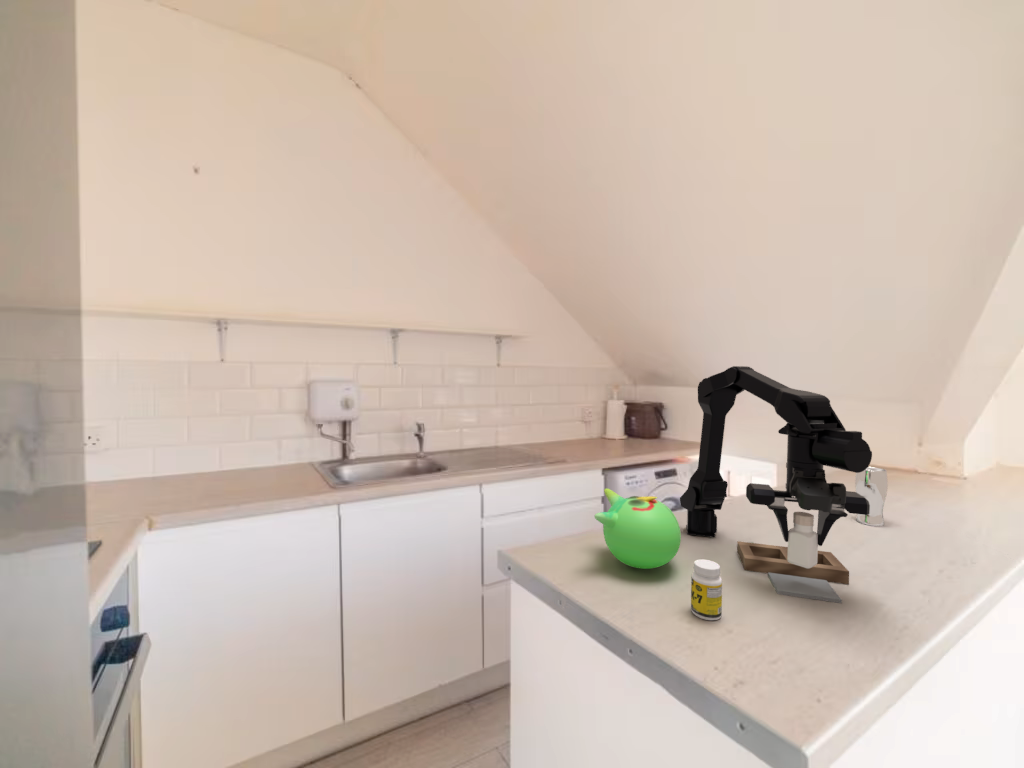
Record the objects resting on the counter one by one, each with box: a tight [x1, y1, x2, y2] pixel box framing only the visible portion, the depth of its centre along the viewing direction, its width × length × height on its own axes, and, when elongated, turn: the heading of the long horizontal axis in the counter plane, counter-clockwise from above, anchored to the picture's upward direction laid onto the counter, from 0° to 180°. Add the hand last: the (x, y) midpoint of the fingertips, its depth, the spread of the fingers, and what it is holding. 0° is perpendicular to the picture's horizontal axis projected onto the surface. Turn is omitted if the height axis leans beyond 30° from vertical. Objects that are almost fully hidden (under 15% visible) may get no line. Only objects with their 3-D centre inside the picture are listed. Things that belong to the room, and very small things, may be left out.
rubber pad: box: [767, 572, 843, 604], centre depth 84 cm, size 10×8×1 cm
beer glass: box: [854, 466, 889, 527], centre depth 122 cm, size 7×7×15 cm
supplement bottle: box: [690, 558, 723, 621], centre depth 74 cm, size 5×5×8 cm
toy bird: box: [594, 488, 682, 570], centre depth 94 cm, size 18×17×15 cm
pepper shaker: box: [787, 511, 819, 569], centre depth 84 cm, size 4×4×10 cm
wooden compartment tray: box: [736, 540, 850, 585], centre depth 93 cm, size 18×10×2 cm, turn 71°
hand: (802, 543), depth 84 cm, fingers closed on pepper shaker, 5 cm apart
